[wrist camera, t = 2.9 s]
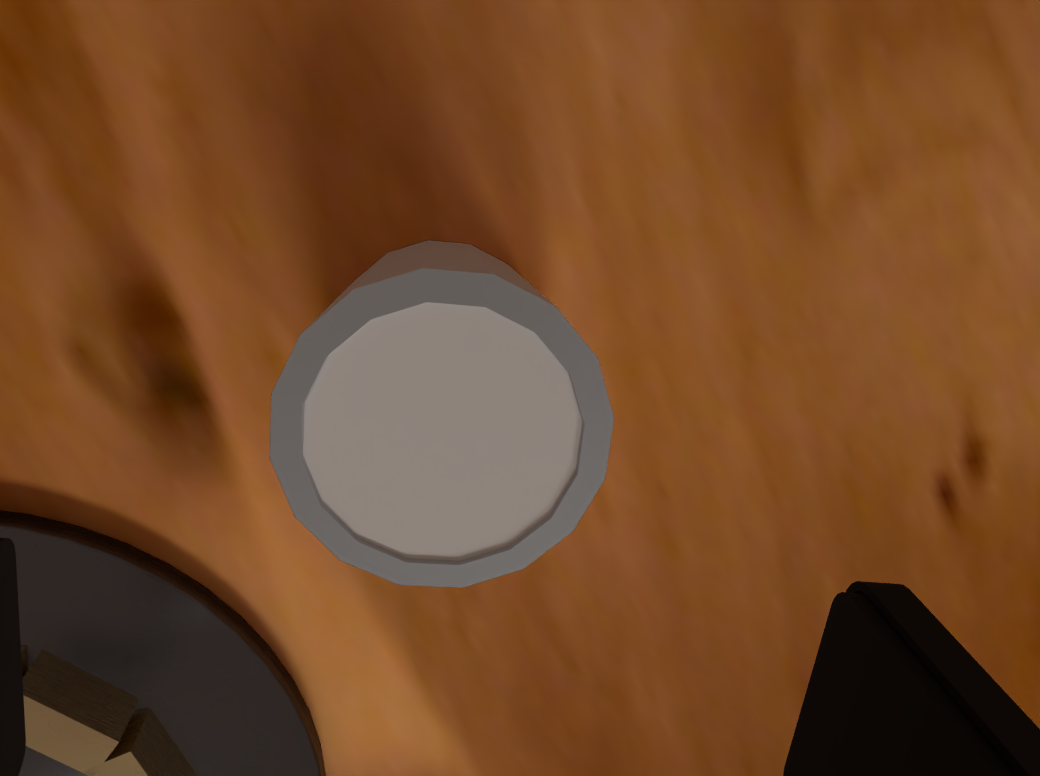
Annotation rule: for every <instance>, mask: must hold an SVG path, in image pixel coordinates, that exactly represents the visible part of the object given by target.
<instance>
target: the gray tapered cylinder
mask: <svg viewBox="0 0 1040 776" xmlns="http://www.w3.org/2000/svg"><path fill="white" fill-rule="evenodd" d="M613 423H614V416H613V412H612V409H611V405H610V401H609V398H608V394H607V390H606V387H605V383H604V379H603V376H602V372H601V368H600V365H599V361H598V357H597V356H596V355H595V354H594V353H593V351H592V350H591V349H590V348H589V346H588V345H587V344H586V343H585V342H584V340H583V339H582V338H581V337H580V335H579V334H578V333H577V332H576V331H575V329H574V328H573V327H572V326H571V324H570V323H569V322H568V321H567V320H566V318H565V317H564V316H563V315H562V313H561V312H560V311H559V310H558V309H557V307H556V306H555V305H554V304H552V303H551V302H550V301H549V300H548V299H547V298H546V297H544V296H543V295H542V294H541V293H540V292H539V291H537V290H536V289H535V288H534V287H533V286H532V285H531V284H529V283H528V282H527V281H526V280H525V279H524V278H523V277H521V276H520V275H519V274H518V273H517V272H516V271H515V270H513V269H512V268H511V267H510V266H509V265H508V264H507V263H505V262H503V261H501V260H499V259H497V258H495V257H493V256H491V255H490V254H488V253H486V252H484V251H482V250H480V249H478V248H476V247H474V246H472V245H471V244H463V243H453V242H442V241H431V240H427V241H424V242H420V243H417V244H414V245H411V246H407V247H404V248H401V249H398V250H394V251H391V252H388V253H387V254H385V255H384V256H383V257H382V258H381V259H379V260H378V261H377V262H376V263H375V264H373V265H372V266H371V267H370V268H369V269H368V270H366V271H365V272H364V273H363V274H362V275H360V276H359V277H358V278H357V279H356V280H355V281H354V282H353V283H352V284H351V285H350V286H349V287H348V288H347V289H346V290H345V291H344V292H343V293H342V294H341V295H340V296H339V297H338V298H337V299H336V300H335V301H334V302H333V303H332V304H331V305H330V306H329V307H328V308H326V309H325V310H324V311H323V312H322V313H321V314H320V315H319V316H318V317H317V318H316V319H315V320H314V321H313V322H312V323H311V324H310V325H309V326H308V327H307V328H306V329H305V330H304V331H303V332H302V333H301V334H300V337H299V339H298V341H297V343H296V345H295V347H294V349H293V351H292V353H291V355H290V357H289V359H288V361H287V363H286V365H285V367H284V369H283V371H282V373H281V375H280V377H279V379H278V382H277V384H276V386H275V388H274V390H273V392H272V394H271V429H270V460H271V462H272V465H273V467H274V469H275V472H276V474H277V476H278V479H279V481H280V483H281V486H282V488H283V491H284V493H285V495H286V498H287V500H288V502H289V505H290V507H291V509H292V512H293V514H294V516H295V517H296V518H297V519H298V520H299V521H300V522H301V523H302V524H303V525H304V526H305V527H306V528H307V529H308V530H309V531H310V532H311V533H312V534H313V535H314V536H315V537H316V538H317V539H318V540H320V541H321V542H322V543H323V544H324V545H325V546H326V547H327V548H328V549H329V550H330V551H331V552H332V553H333V554H334V555H335V556H336V557H337V558H338V559H339V560H340V561H343V562H345V563H348V564H350V565H352V566H355V567H357V568H360V569H362V570H364V571H367V572H369V573H372V574H374V575H376V576H379V577H381V578H384V579H386V580H388V581H391V582H393V583H396V584H398V585H414V586H436V587H458V588H463V587H467V586H470V585H473V584H476V583H480V582H483V581H486V580H489V579H493V578H496V577H499V576H502V575H506V574H509V573H512V572H515V571H519V570H522V569H524V568H525V567H527V566H528V565H529V564H531V563H532V562H533V561H535V560H536V559H537V558H539V557H540V556H541V555H542V554H544V553H545V552H546V551H548V550H549V549H550V548H552V547H553V546H554V545H556V544H557V543H558V542H560V541H561V540H562V539H564V538H565V537H566V536H568V535H569V534H570V533H571V532H573V530H574V529H575V527H576V526H577V524H578V522H579V521H580V519H581V517H582V516H583V514H584V512H585V511H586V509H587V508H588V506H589V504H590V503H591V501H592V499H593V498H594V496H595V494H596V493H597V491H598V490H599V488H600V486H601V485H602V483H603V481H604V480H605V475H606V469H607V462H608V456H609V449H610V442H611V436H612V429H613Z"/></svg>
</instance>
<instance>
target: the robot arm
mask: <svg viewBox="0 0 1040 776" xmlns="http://www.w3.org/2000/svg"><path fill="white" fill-rule="evenodd" d="M25 748H26V733H25V715H24V696H23V678H22V660H21V641H20V623H19V605H18V586H17V568H16V552H15V546H14V543H13V541H12V540H11V539H10V538H0V776H18V775H19V773H20V770H21V767H22V764H23V760H24V755H25ZM783 776H1040V729H1039V728H1038V727H1037V726H1036V725H1035V724H1034V723H1033V722H1032V720H1031V719H1030V718H1029V717H1028V716H1027V715H1026V714H1025V713H1024V712H1023V711H1022V710H1021V709H1020V708H1019V706H1018V705H1017V704H1016V703H1015V702H1014V701H1013V700H1012V699H1011V698H1010V697H1009V696H1008V695H1007V694H1006V693H1005V691H1004V690H1003V689H1002V688H1001V687H1000V686H999V685H998V684H997V683H996V682H995V681H994V680H993V679H992V677H991V676H990V675H989V674H988V673H987V672H986V671H985V670H984V669H983V668H982V667H981V666H980V665H979V664H978V662H977V661H976V660H975V659H974V658H973V657H972V656H971V655H970V654H969V653H968V652H967V651H966V650H965V648H964V647H963V646H962V645H961V644H960V643H959V642H958V641H957V640H956V639H955V638H954V637H953V636H952V635H951V633H950V632H949V631H948V630H947V629H946V628H945V627H944V626H943V625H942V624H941V623H940V622H939V621H938V620H937V618H936V617H935V616H934V615H933V614H932V613H931V612H930V611H929V610H928V609H927V608H926V607H925V606H924V604H923V603H922V602H921V601H920V600H919V599H918V598H917V597H916V596H915V595H914V594H913V593H912V592H911V591H910V589H908V588H907V587H906V586H904V585H900V584H890V583H875V582H860V581H857V582H854V583H852V584H851V585H850V586H849V587H848V589H847V590H846V592H841V593H839V594H837V595H836V597H835V598H834V600H833V602H832V605H831V608H830V612H829V615H828V619H827V622H826V626H825V629H824V633H823V636H822V639H821V643H820V646H819V650H818V653H817V657H816V660H815V664H814V667H813V670H812V674H811V677H810V681H809V684H808V688H807V691H806V695H805V698H804V702H803V705H802V708H801V712H800V715H799V719H798V722H797V726H796V729H795V733H794V736H793V739H792V743H791V746H790V750H789V753H788V757H787V760H786V764H785V768H784V774H783Z"/></svg>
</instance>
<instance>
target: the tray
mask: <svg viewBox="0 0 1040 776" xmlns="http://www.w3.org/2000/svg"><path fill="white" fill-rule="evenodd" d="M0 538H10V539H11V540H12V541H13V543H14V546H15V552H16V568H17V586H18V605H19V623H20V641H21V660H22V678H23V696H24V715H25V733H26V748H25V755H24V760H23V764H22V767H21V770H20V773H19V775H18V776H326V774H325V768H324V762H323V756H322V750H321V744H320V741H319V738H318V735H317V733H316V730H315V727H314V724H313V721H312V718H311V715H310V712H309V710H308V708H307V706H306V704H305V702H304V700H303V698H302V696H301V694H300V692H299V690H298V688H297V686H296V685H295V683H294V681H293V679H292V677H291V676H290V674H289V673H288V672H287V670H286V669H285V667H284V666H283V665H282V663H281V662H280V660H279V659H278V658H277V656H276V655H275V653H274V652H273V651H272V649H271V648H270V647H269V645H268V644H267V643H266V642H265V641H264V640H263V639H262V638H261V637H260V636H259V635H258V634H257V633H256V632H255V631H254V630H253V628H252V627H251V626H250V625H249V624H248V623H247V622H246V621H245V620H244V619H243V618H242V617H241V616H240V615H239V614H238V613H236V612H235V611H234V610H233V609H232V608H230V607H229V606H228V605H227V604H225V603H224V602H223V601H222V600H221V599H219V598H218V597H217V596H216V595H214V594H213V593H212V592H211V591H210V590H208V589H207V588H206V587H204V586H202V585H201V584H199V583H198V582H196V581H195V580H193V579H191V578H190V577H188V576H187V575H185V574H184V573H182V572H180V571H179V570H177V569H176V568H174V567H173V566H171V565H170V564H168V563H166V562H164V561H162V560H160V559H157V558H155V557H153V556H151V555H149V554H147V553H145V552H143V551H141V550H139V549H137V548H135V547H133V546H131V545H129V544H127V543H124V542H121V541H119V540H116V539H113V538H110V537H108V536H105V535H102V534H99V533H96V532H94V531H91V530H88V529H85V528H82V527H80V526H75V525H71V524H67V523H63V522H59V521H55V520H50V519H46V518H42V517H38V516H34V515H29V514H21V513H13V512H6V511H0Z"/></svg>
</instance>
